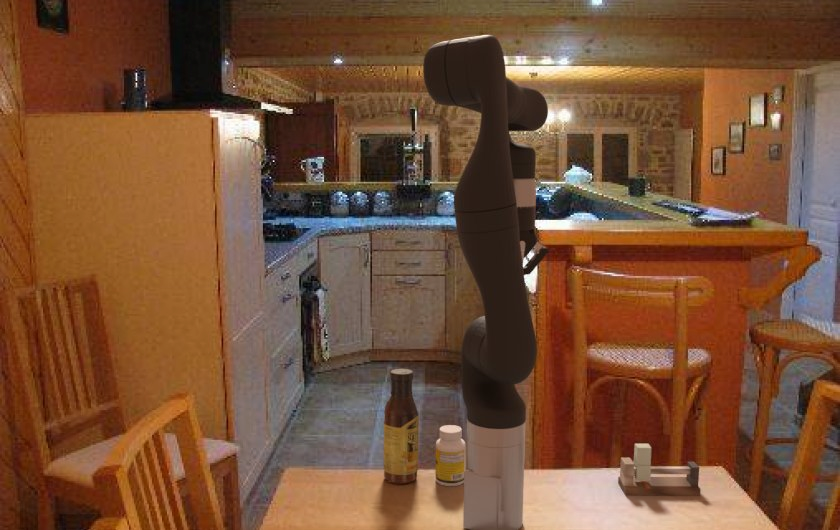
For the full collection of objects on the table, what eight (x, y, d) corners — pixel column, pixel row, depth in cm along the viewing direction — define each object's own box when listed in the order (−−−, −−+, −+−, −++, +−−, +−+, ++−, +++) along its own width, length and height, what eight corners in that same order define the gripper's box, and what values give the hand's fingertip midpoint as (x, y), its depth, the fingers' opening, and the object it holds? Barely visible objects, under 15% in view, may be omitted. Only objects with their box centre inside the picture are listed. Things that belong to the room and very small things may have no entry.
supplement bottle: (440, 473, 150) (441, 421, 149) (468, 477, 149) (469, 425, 147) (431, 484, 145) (431, 431, 144) (460, 489, 144) (461, 435, 142)
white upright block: (646, 474, 145) (647, 442, 144) (650, 480, 143) (652, 448, 142) (632, 474, 145) (634, 442, 144) (636, 480, 143) (638, 448, 142)
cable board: (690, 483, 147) (692, 455, 146) (700, 495, 142) (701, 466, 141) (618, 482, 147) (619, 455, 146) (625, 494, 142) (626, 466, 141)
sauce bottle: (414, 487, 144) (414, 378, 141) (379, 483, 145) (379, 375, 142) (421, 472, 150) (422, 367, 147) (388, 469, 152) (388, 365, 149)
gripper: (479, 204, 145) (477, 300, 148) (554, 205, 145) (551, 301, 148) (477, 201, 153) (475, 292, 155) (548, 202, 153) (545, 293, 155)
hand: (512, 296), depth 151 cm, fingers closed
